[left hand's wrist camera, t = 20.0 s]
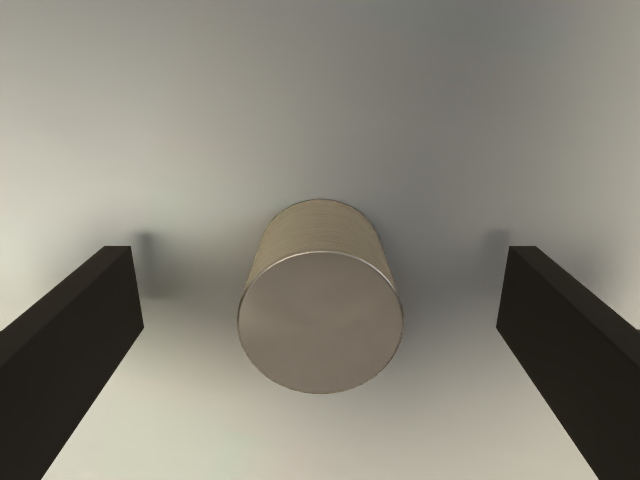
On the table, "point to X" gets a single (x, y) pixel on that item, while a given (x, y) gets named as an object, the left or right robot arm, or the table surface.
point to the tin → (320, 300)
